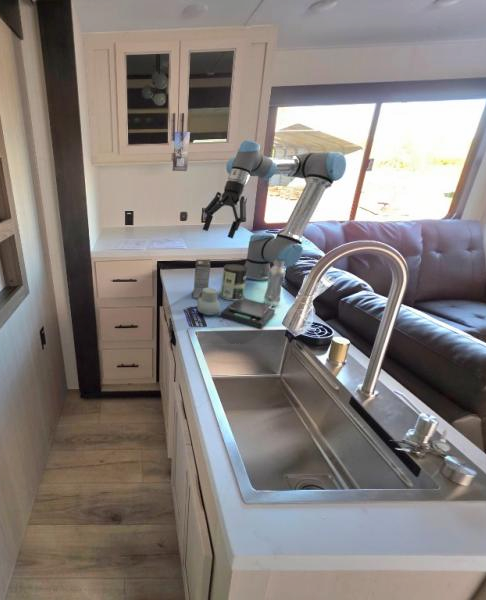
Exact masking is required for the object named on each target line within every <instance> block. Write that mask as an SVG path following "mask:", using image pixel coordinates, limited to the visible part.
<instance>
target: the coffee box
mask: <svg viewBox="0 0 486 600" xmlns="http://www.w3.org/2000/svg"><path fill="white" fill-rule="evenodd" d="M194 267H195V269H194V279H193V294H192V295H193V296H192V298H193V299H197V300H198V299H199V298H201V297H202V290H203V289H204V288H209V282H210V275H211V260H210V259H195V266H194Z"/></svg>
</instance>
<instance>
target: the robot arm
mask: <svg viewBox="0 0 486 600" xmlns="http://www.w3.org/2000/svg"><path fill="white" fill-rule="evenodd" d="M260 148H261V145H260V143H258V142H256V141H254V140H248V139H247V140H243V141H241V143H240V146H239V148H238V150H237V152H236V155H235V157H234V156H233V157H230V159H228V161H227V162H226V168H225V169H226V172H227V174H229V175H228V178H227V181H225V182H226V183H225V184H224V187H223V190H224V191H223V193H221V192H220V191H217V192H216V193H215V196H214V197H213V199H212V200H211V201H210V202H209V204H208V205H207V206H206V207H205V208H204V210H203V212H204V213H205V214H206V216H205V218H204V225H203V227H202V231H206V232H208V231H209V229H210V226H211V223H212V221H213V218H214V216H213V215H214V214H215V213H216V212H218V211H219V210H220V209H221V208H222V207H224V206H227V207H230V208H232V212H233V215H234V220H233V221H232V223H231V226H230V228H229V231H228V234H227V238H230V239H234V236H235V234H236V232H237V231H238V230H239V227H240V225H241V223H246V222H247V200H248V198H247V197H246V196H243V193H244V191H245V188H246V184H247V183H248V181H249V178H250V177H258V178H260V179H261V180H270V179H271V178H273V177H274V176H275V175H277V176H278V175H280V176H281V175H282V176H284V177H289V178H290V177H291V178H298V179H304V182H305V186H303V187H304V188H303V190H302V192H301V193H300V196H299V197H298V199H297V201H296V203H295V206H294V207H293V209H292V212H291V214H290V216H289V218H288V220H287V222H286V224H285V226H284V227H283V230H282V231H281V232H279V233H277V234H276V235H275V234H274V233H267V232H265V233H264V232H263V233H262V232H261V233H253V234H251V235H250V237H249V241H248V248H247V254H246V261H245V263H244V265H243V266H245V267H247V268H248V270H247V275H246V280H251V281H257V282H261V281H263V282H264V281H265V282H266V281H268V273H269V270H270V268H271V263H272V264H274V261H275V259H281V260H284V265H283V267H284V268H285V267H286V268H289V267H292V266H294V265H296V264H297V263H298V262H299V260H301V258H302V256H303V254H304V253H303V251H304V248H303V246H302V244H303V241H302V236H303V234H304V232H305V230H306V228H307V227H308V224H309V222H310V221H311V219H312V217H313V215H314V213H315V211H316V209H317V207H318V205H319V203H320V201H321V199H322V197H323V195H324V193H325V192H326V190H327V189H329V188H331V187H332V185H333V183H334V182H337V181H339V180H341V179H342V178H343V176H344V175H345V173H346V168H347V159H346V157H345V155H344V154H343V153H342V152H336V151H328V152H306V153H301V154H300V153H299V154H290V155H287V156H282V157H279V156H278V157H276V156H272V157H271V156H270V157H269V156H266V155H263V154H262V153H261V152H260V150H261V149H260ZM238 203H239V204H238Z"/></svg>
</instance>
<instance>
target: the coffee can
mask: <svg viewBox="0 0 486 600" xmlns="http://www.w3.org/2000/svg"><path fill="white" fill-rule="evenodd" d="M247 270H248V268H247V267H245V266H244V265H243V264H238V263H229V264H225V265H223V272H222V280H221V290H220V295H219V296H220V298H222V299H225V300H227V301H233V302H235V301H236V300H238V299H239V298H244V293H245V287H246V282H247V278H246V275H247Z"/></svg>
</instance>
